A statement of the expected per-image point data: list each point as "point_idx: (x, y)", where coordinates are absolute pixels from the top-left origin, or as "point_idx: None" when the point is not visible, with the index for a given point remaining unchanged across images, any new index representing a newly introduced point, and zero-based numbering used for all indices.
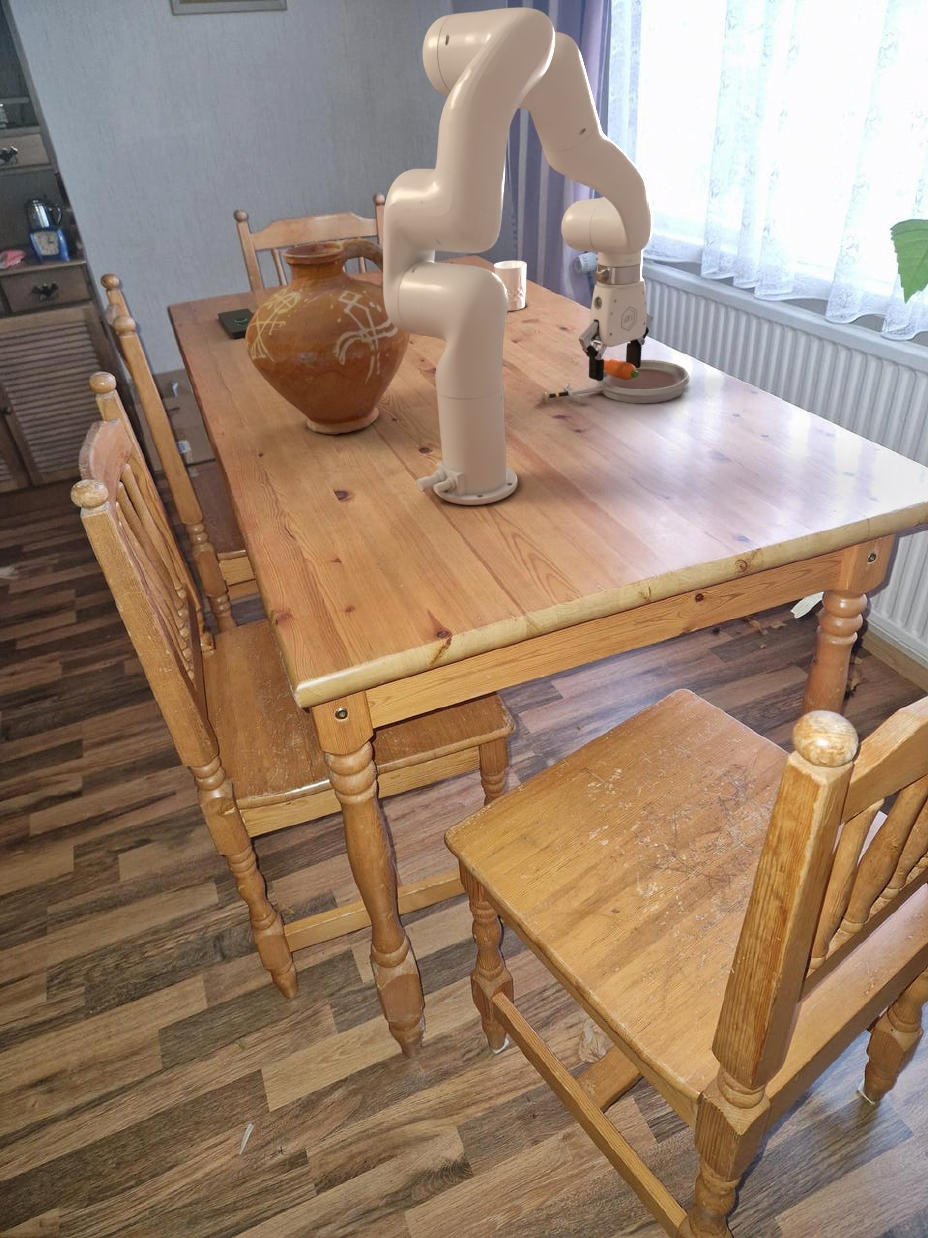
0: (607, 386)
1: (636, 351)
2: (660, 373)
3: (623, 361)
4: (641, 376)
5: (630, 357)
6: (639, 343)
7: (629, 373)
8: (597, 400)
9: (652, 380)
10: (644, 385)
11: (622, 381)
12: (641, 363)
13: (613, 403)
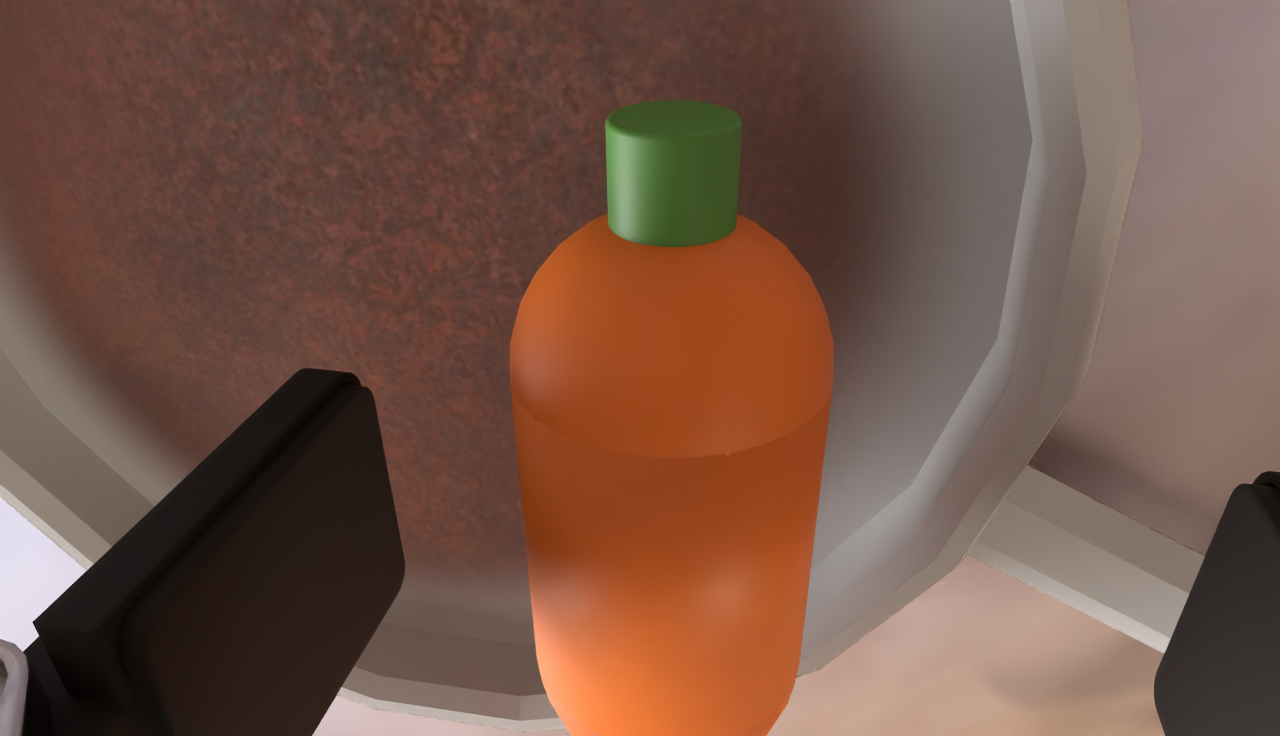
0: (1076, 376)
1: (214, 601)
2: (56, 214)
3: (600, 576)
4: (309, 329)
5: (329, 601)
6: (29, 714)
7: (760, 247)
8: (1168, 343)
9: (273, 124)
10: (488, 71)
11: None
12: (122, 525)
13: (1154, 97)
